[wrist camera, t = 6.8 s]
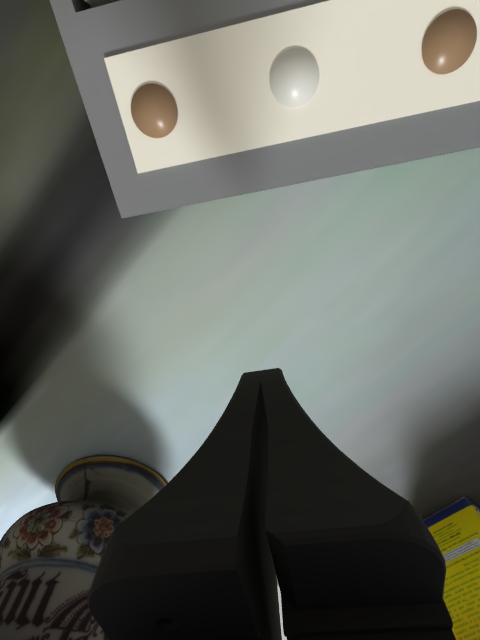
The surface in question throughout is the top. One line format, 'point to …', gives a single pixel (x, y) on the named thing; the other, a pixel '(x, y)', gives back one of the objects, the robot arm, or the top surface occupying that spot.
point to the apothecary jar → (67, 549)
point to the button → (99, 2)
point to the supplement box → (460, 564)
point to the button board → (269, 90)
